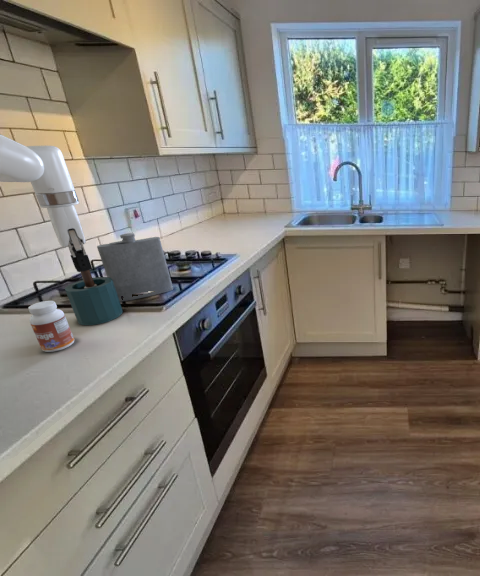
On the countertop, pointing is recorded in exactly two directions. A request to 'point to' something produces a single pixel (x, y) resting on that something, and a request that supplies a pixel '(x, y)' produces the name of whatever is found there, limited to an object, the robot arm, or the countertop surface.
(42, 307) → the pill bottle
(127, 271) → the hip flask
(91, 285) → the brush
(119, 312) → the jar
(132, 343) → the countertop surface
